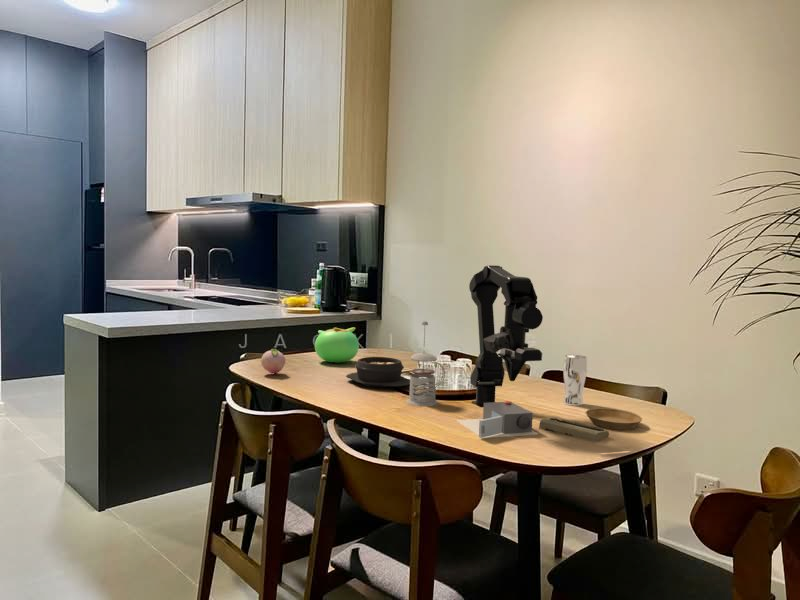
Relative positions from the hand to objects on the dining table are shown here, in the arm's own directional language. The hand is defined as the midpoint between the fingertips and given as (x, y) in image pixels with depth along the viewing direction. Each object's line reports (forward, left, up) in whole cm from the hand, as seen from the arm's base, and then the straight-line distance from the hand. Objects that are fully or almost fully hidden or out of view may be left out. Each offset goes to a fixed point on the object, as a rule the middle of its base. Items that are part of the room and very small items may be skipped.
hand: (511, 380), depth 161 cm
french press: (-26, -15, -12) cm, 32 cm away
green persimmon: (-96, -28, -12) cm, 101 cm away
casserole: (-53, -22, -12) cm, 59 cm away
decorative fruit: (-74, -56, -12) cm, 94 cm away
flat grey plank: (+12, +12, -12) cm, 21 cm away
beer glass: (-16, +31, -12) cm, 37 cm away
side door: (+12, -11, -11) cm, 19 cm away
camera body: (+4, -3, -11) cm, 12 cm away
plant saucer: (+6, +29, -12) cm, 32 cm away
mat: (+4, -6, -12) cm, 14 cm away
